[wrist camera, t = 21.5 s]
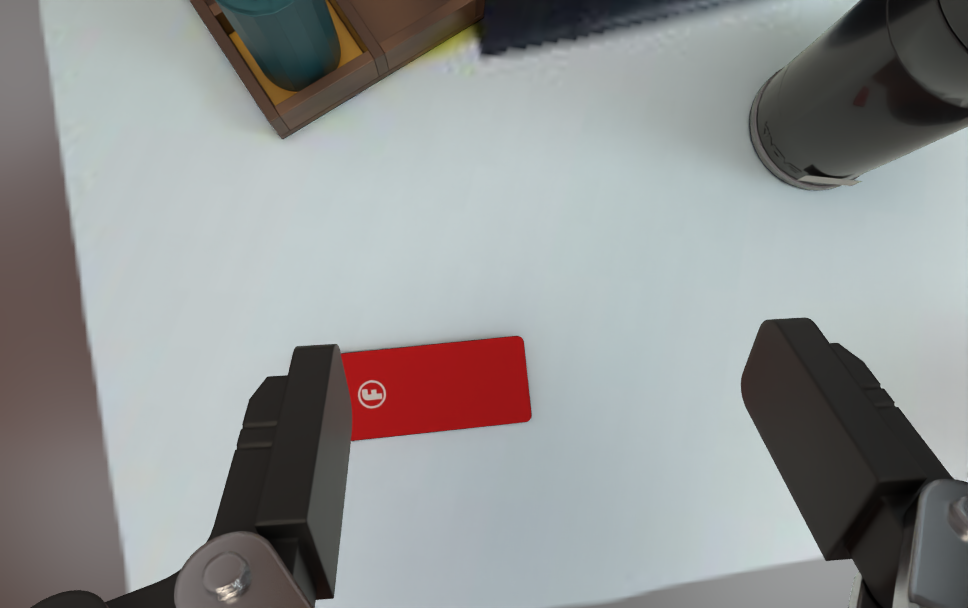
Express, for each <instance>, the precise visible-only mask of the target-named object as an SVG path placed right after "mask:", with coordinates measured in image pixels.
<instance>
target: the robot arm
mask: <svg viewBox="0 0 968 608" xmlns="http://www.w3.org/2000/svg"><path fill="white" fill-rule="evenodd" d="M966 127H968V0H860V1H859V2H858V3H857V4H856V5H854V6H853V7H852V8H851V9H850V10H849V11H848V12H847V13H845V14H844V15H843V16H842V17H841V18H840V19H839V20H837V21H836V22H835V23H834V24H833V25H832V26H831V27H830V28H828V29H827V30H826V31H825V32H824V33H823V34H822V35H821V36H819V37H818V38H817V39H816V40H815V41H814V42H813V43H812V44H810V45H809V46H808V47H807V48H806V49H805V50H804V51H802V52H801V53H800V54H799V55H798V56H797V57H795V58H794V59H793V60H792V61H791V62H790V63H789V64H788V65H786V66H785V67H784V68H782V69H781V70H779V71H778V72H776V73H775V74H774V75H773V76H772V77H771V78H770V79H769V80H768V81H766V83H765V84H764V85H763V86H762V87H761V89H760V90H759V92H758V93H757V95H756V97H755V100H754V102H753V105H752V109H751V113H750V133H751V138H752V141H753V145H754V147H755V150H756V152H757V154H758V156H759V157H760V159H761V160H762V162H763V163H764V164H765V166H766V167H767V168H768V169H769V170H770V171H771V172H772V173H773V174H774V175H776V176H777V177H778V178H780V179H781V180H783V181H785V182H786V183H788V184H791V185H793V186H796V187H799V188H802V189H807V190H828V189H832V188H836V187H839V186H841V185H847V186H852V185H855V184H857V183H859V182H862V181H855V180H854V179H856V178H857V177H859V176H860V175H862V174H864V173H866V172H869V171H871V170H873V169H876V168H878V167H880V166H882V165H885V164H887V163H889V162H891V161H893V160H896V159H898V158H900V157H902V156H904V155H907V154H909V153H911V152H913V151H915V150H917V149H920V148H922V147H924V146H926V145H928V144H931V143H933V142H935V141H937V140H939V139H942V138H944V137H946V136H948V135H950V134H953V133H955V132H957V131H959V130H961V129H964V128H966ZM741 393H742V398H743V401H744V404H745V407H746V409H747V411H748V413H749V414H750V416H751V418H752V420H753V422H754V424H755V426H756V428H757V430H758V432H759V434H760V436H761V437H762V439H763V441H764V443H765V445H766V447H767V449H768V451H769V453H770V455H771V457H772V459H773V460H774V462H775V464H776V466H777V468H778V470H779V472H780V474H781V476H782V478H783V480H784V482H785V483H786V485H787V487H788V489H789V491H790V493H791V495H792V497H793V499H794V501H795V503H796V505H797V506H798V508H799V510H800V512H801V514H802V516H803V518H804V520H805V522H806V524H807V526H808V528H809V529H810V531H811V533H812V535H813V537H814V539H815V541H816V543H817V545H818V547H819V549H820V551H821V552H822V554H823V556H824V558H825V560H826V561H830V560H843V559H853V561H854V563H855V565H856V566H857V568H858V570H859V572H858V573H857V575H856V576H855V578H854V581H853V585H852V590H851V595H850V600H849V605H848V608H968V482H964V481H960V480H955V479H953V478H952V476H951V475H950V474H949V473H948V471H947V470H946V469H945V468H944V466H943V465H942V464H941V462H940V461H939V460H938V458H937V457H936V456H935V455H934V453H933V452H932V451H931V449H930V448H929V447H928V445H927V444H926V443H925V441H924V440H923V439H922V438H921V436H920V435H919V434H918V432H917V431H916V430H915V428H914V427H913V426H912V425H911V423H910V422H909V421H908V419H907V418H906V417H905V415H904V414H903V413H902V411H901V410H900V409H899V408H898V407H895V406H894V401H893V400H892V398H891V397H890V396H889V395H888V393H887V392H886V391H885V389H881V387H880V383H879V381H878V380H877V379H876V378H875V376H874V375H873V374H872V372H871V371H870V370H869V368H868V367H867V366H866V365H865V363H864V362H863V361H862V360H860V359H859V358H858V357H856V356H855V355H854V354H852V353H851V352H849V351H848V350H847V349H845V348H844V347H843V346H841V345H840V344H839V343H829V342H828V340H827V339H826V338H825V336H824V335H823V334H822V332H821V331H820V330H819V328H818V327H817V325H816V324H815V323H814V322H813V321H812V320H811V319H809V318H789V319H772V320H766V321H764V322H763V323H762V324H761V326H760V328H759V331H758V333H757V336H756V339H755V341H754V344H753V347H752V349H751V352H750V355H749V358H748V360H747V363H746V366H745V368H744V371H743V374H742V378H741ZM242 425H243V429H241V431H240V435H239V438H238V442H237V450H235V453H234V456H233V460H232V463H231V467H230V470H229V474H228V477H227V481H226V485H225V488H224V492H223V495H222V499H221V502H220V506H219V509H218V513H217V517H216V520H215V524H214V527H213V530H212V532H211V535H210V537H209V539H208V541H207V542H206V543H205V544H204V545H203V546H201V547H200V548H199V549H198V550H196V551H195V552H194V553H193V554H192V555H191V556H190V558H189V559H188V560H187V561H186V563H185V564H184V566H183V567H182V569H181V570H179V571H178V572H176V573H175V574H173V575H171V576H170V577H168V578H166V579H164V580H161V581H159V582H157V583H154V584H152V585H149V586H146V587H144V588H141V589H139V590H136V591H133V592H131V593H128V594H125V595H123V596H120V597H118V598H115V599H112V600H110V601H107V602H104V601H103V600H102V599H101V598H100V597H99V596H97V595H95V594H94V593H91V592H88V591H81V590H77V591H76V590H74V591H67V592H62V593H59V594H56V595H53V596H51V597H48V598H46V599H44V600H42V601H40V602H39V603H37V604H36V605H34V606H32V607H31V608H315V601H316V600H319V599H332V598H334V591H335V582H336V573H337V564H338V555H339V545H340V536H341V527H342V518H343V508H344V499H345V490H346V481H347V472H348V462H349V453H350V444H351V435H352V406H351V398H350V394H349V389H348V385H347V380H346V376H345V371H344V366H343V362H342V357H341V353H340V349H339V346H338V345H337V344H328V345H311V346H297V347H295V349H294V352H293V355H292V360H291V364H290V368H289V373H288V375H287V376H270V377H267V378H266V379H265V380H264V382H263V383H262V384H261V385H260V387H259V388H258V389H257V390H256V392H255V393H254V394H253V395H252V397H251V398H250V399H249V403H248V406H247V410H246V413H245V417H244V421H243V424H242Z"/></svg>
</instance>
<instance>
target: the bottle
mask: <svg viewBox="0 0 968 608" xmlns="http://www.w3.org/2000/svg"><path fill="white" fill-rule="evenodd" d="M215 1H216V2H217V4H218V5H219V7H220V9H221V10H222V12H223V13H224V15H225V16H226V18H227V19H228V21H229V22H230V24H231V25H232V27H233V28H234V30H235V31H236V33H237V34H238V36H239V37H240V39H241V40H242V42H243V43H244V45H245V46H246V48H247V49H248V51H249V52H250V54H251V55H252V57H253V58H254V60H255V61H256V63H257V64H258V66H259V67H260V69H261V70H262V72H263V73H264V75H265V76H266V77H267V78H268V79H269V80H270V81H271V82H272V83H273V84H275V85H276V86H278V87H280V88H282V89H285V90H289V91H294V92H299V91H301V90H302V89H304V88H306V87H307V86H309V85H311V84H312V83H314V82H316V81H317V80H319V79H321V78H322V77H324V76H326V75H327V74H329V73H331V72H332V71H334V70H336V69H337V67H338V65H339V62H340V57H341V48H340V43H339V39H338V34H337V32H336V29H335V26H334V23H333V20H332V18H331V15H330V12H329V9H328V6H327V4H326V1H325V0H215Z"/></svg>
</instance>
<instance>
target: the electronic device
mask: <svg viewBox="0 0 968 608" xmlns="http://www.w3.org/2000/svg"><path fill="white" fill-rule="evenodd" d="M341 357H342V362H343V366H344V371H345V376H346V380H347V385H348V389H349V394H350V398H351V406H352V435H351V441H355V440H364V439H373V438H383V437H392V436H401V435H410V434H420V433H429V432H438V431H447V430H457V429H466V428H475V427H484V426H494V425H503V424H512V423H521V422H528V421H529V420H530V419H531V405H530V396H529V387H528V377H527V368H526V359H525V349H524V341H523V339H522V338H521V337H520V336H511V337H501V338H491V339H481V340H471V341H461V342H451V343H441V344H431V345H421V346H411V347H401V348H391V349H381V350H371V351H361V352H351V353H341Z"/></svg>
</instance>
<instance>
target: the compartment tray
mask: <svg viewBox="0 0 968 608" xmlns="http://www.w3.org/2000/svg"><path fill="white" fill-rule="evenodd" d="M325 1H326V4H327V6H328V9H329V12H330V15H331V18H332V20H333V23H334V26H335V29H336V32H337V34H338V39H339V43H340V48H341V57H340V62H339V65H338V67H337V69H336V70H334V71H332V72H331V73H329V74H327V75H326V76H324V77H322V78H321V79H319V80H317V81H316V82H314V83H312V84H311V85H309V86H307V87H306V88H304V89H302V90H301V91H299V92H294V91H289V90H285V89H282V88H280V87H278V86H276V85H275V84H273V83H272V82H271V81H270V80H269V79H268V78H267V77H266V76H265V75H264V73H263V72H262V70H261V69H260V67H259V66H258V64H257V63H256V61H255V60H254V58H253V57H252V55H251V54H250V52H249V51H248V49H247V48H246V46H245V45H244V43H243V42H242V40H241V39H240V37H239V36H238V34H237V33H236V31H235V30H234V28H233V27H232V25H231V24H230V22H229V21H228V19H227V18H226V16H225V15H224V13H223V12H222V10H221V9H220V7H219V5H218V4H217V2H216V1H215V0H190V2H191V3H192V5H193V6H194V8H195V9H196V11H197V12H198V14H199V16H200V17H201V19H202V20H203V22H204V23H205V25H206V26H207V28H208V29H209V31H210V32H211V34H212V35H213V37H214V39H215V40H216V42H217V43H218V45H219V46H220V48H221V49H222V51H223V52H224V54H225V55H226V57H227V58H228V60H229V61H230V63H231V65H232V66H233V68H234V69H235V71H236V72H237V74H238V75H239V77H240V78H241V80H242V81H243V83H244V84H245V86H246V88H247V89H248V91H249V92H250V94H251V95H252V97H253V98H254V100H255V101H256V103H257V104H258V106H259V107H260V109H261V111H262V112H263V114H264V115H265V117H266V118H267V120H268V121H269V123H270V124H271V125H272V127H273V128H274V129H275V130H276V132H277V133H278V134H279V136H280V137H281V138H282V139H284V138H286V137H287V136H289V135H291V134H292V133H294V132H296V131H297V130H299V129H300V128H302V127H304V126H305V125H307V124H309V123H310V122H312V121H314V120H315V119H317V118H319V117H320V116H322V115H324V114H325V113H327V112H329V111H330V110H332V109H333V108H335V107H337V106H338V105H340V104H342V103H343V102H345V101H347V100H348V99H350V98H352V97H353V96H355V95H357V94H358V93H360V92H362V91H363V90H365V89H366V88H368V87H370V86H371V85H373V84H375V83H376V82H378V81H380V80H381V79H383V78H385V77H386V76H388V75H390V74H391V73H393V72H395V71H396V70H398V69H399V68H401V67H403V66H404V65H406V64H408V63H409V62H411V61H413V60H414V59H416V58H418V57H419V56H421V55H423V54H424V53H426V52H428V51H429V50H431V49H432V48H434V47H436V46H437V45H439V44H441V43H442V42H444V41H446V40H447V39H449V38H451V37H452V36H454V35H456V34H457V33H459V32H461V31H462V30H464V29H465V28H467V27H469V26H470V25H472V24H474V23H475V22H477V21H479V20H480V19H482V18H483V17H484V6H485V0H325Z"/></svg>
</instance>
